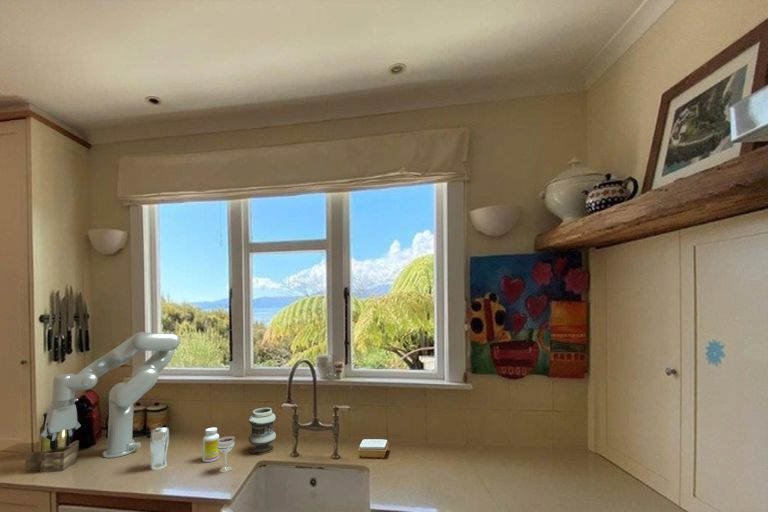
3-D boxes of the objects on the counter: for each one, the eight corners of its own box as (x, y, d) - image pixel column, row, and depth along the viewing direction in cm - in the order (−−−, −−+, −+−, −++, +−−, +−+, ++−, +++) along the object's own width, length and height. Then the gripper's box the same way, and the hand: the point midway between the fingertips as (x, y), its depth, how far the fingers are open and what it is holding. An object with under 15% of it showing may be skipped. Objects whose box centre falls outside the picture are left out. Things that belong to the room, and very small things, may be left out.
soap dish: (389, 450, 174) (388, 438, 174) (386, 459, 164) (386, 447, 165) (362, 449, 175) (362, 438, 176) (358, 458, 166) (357, 446, 166)
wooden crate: (86, 455, 176) (87, 438, 177) (63, 470, 160) (64, 452, 161) (46, 458, 173) (47, 441, 174) (18, 474, 157) (19, 456, 158)
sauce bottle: (60, 454, 178) (63, 410, 180) (47, 460, 171) (50, 414, 174) (47, 454, 178) (50, 410, 180) (33, 459, 172) (37, 414, 174)
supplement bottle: (221, 459, 168) (222, 428, 169) (206, 464, 163) (207, 432, 165) (215, 455, 172) (215, 425, 174) (199, 459, 168) (200, 429, 169)
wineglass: (230, 473, 154) (230, 441, 155) (213, 473, 154) (214, 442, 156) (237, 465, 161) (237, 435, 162) (221, 465, 161) (221, 436, 162)
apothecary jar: (243, 455, 172) (244, 413, 174) (255, 444, 184) (256, 406, 186) (269, 455, 170) (269, 413, 172) (279, 445, 182) (280, 406, 184)
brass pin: (67, 455, 166) (69, 426, 167) (61, 459, 162) (63, 429, 163) (57, 456, 165) (59, 427, 167) (51, 460, 161) (53, 430, 163)
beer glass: (148, 471, 157) (149, 433, 159) (149, 465, 163) (151, 428, 165) (167, 468, 160) (169, 430, 162) (168, 462, 166) (169, 426, 168)
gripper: (81, 398, 175) (78, 439, 173) (34, 407, 161) (31, 453, 159) (89, 399, 172) (87, 442, 170) (42, 409, 157) (39, 456, 155)
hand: (60, 447), depth 164 cm, fingers closed on brass pin, 4 cm apart
